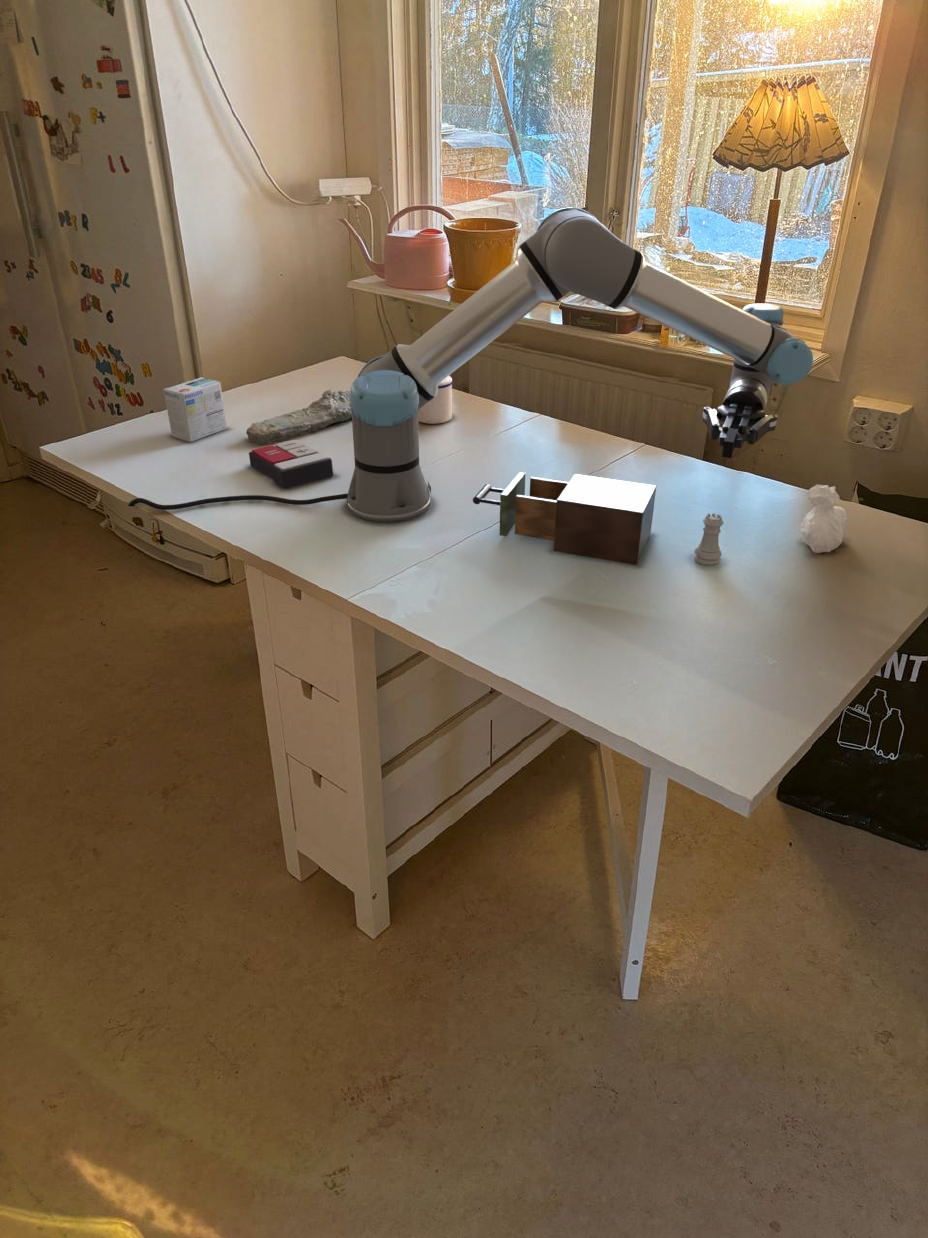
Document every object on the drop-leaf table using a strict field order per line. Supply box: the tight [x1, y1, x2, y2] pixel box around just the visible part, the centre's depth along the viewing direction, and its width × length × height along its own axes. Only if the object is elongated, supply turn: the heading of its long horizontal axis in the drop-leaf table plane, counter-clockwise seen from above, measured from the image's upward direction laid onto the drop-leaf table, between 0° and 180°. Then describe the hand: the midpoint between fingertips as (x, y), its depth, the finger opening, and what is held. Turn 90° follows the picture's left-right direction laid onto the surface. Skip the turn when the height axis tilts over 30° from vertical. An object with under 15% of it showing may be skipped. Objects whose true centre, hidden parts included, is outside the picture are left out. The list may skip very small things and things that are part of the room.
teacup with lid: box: [418, 375, 454, 425], centre depth 206 cm, size 12×9×12 cm
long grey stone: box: [246, 389, 352, 446], centre depth 204 cm, size 35×5×10 cm
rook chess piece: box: [693, 512, 724, 567], centre depth 147 cm, size 4×4×8 cm
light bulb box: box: [163, 377, 228, 443], centre depth 197 cm, size 11×7×11 cm, turn 144°
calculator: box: [248, 439, 334, 490], centre depth 180 cm, size 11×4×15 cm
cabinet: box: [553, 473, 657, 566], centre depth 152 cm, size 14×12×9 cm
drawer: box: [472, 471, 570, 542], centre depth 156 cm, size 19×10×8 cm, turn 69°
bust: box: [800, 484, 849, 554], centre depth 153 cm, size 12×8×11 cm
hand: (727, 449), depth 147 cm, fingers closed
